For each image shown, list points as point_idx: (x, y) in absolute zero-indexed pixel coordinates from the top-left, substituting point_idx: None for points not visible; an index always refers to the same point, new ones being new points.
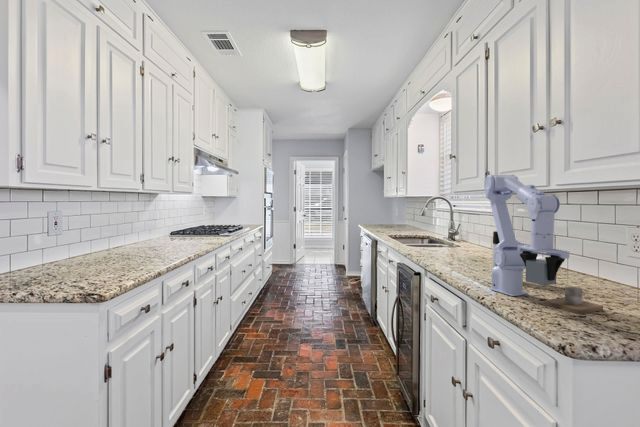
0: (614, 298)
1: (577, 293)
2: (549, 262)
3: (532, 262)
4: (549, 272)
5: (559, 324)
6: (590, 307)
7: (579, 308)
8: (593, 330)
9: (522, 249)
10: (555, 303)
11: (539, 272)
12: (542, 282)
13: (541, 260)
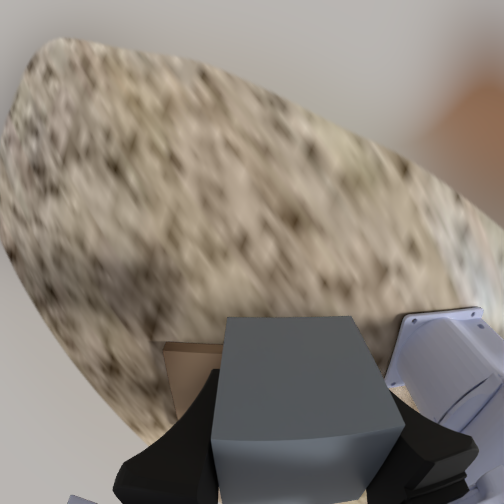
0: None
1: None
2: (171, 458)
3: (339, 427)
4: (202, 402)
5: (113, 169)
6: (179, 401)
7: (179, 368)
8: (56, 226)
9: (474, 498)
10: None
11: (259, 371)
12: (236, 328)
13: (318, 493)
